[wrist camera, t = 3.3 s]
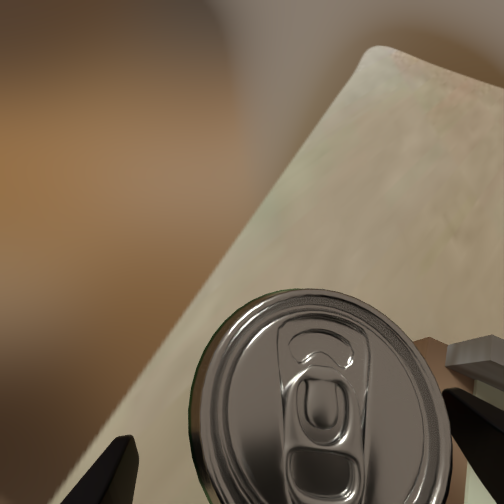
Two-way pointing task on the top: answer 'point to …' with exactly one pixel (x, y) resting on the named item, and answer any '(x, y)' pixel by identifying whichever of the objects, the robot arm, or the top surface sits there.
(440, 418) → the soda can
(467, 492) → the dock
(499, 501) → the robot arm
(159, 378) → the top surface
